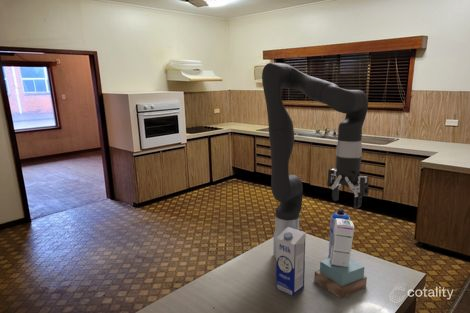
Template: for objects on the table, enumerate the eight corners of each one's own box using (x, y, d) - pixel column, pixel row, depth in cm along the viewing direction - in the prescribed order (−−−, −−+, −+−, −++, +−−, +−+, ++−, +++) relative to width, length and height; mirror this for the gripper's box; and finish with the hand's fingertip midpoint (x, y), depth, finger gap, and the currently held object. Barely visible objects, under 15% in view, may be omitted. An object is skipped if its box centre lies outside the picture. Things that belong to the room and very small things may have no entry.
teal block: (319, 271, 114) (320, 261, 113) (341, 264, 119) (341, 254, 118) (341, 286, 105) (342, 274, 105) (363, 277, 110) (364, 266, 109)
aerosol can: (339, 265, 125) (342, 215, 121) (323, 256, 132) (325, 209, 128) (353, 259, 129) (356, 210, 126) (337, 251, 136) (339, 205, 132)
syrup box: (348, 267, 109) (355, 226, 106) (330, 264, 110) (336, 223, 107) (346, 259, 114) (353, 220, 111) (329, 256, 115) (335, 217, 112)
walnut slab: (314, 281, 115) (314, 271, 114) (338, 272, 121) (338, 262, 120) (341, 299, 105) (342, 288, 104) (366, 288, 111) (366, 277, 110)
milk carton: (304, 287, 111) (306, 231, 107) (293, 296, 106) (294, 238, 102) (286, 280, 116) (287, 226, 112) (275, 288, 111) (276, 232, 107)
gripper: (323, 152, 108) (321, 200, 111) (360, 159, 96) (356, 212, 99) (339, 150, 112) (336, 196, 115) (376, 156, 100) (372, 207, 103)
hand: (346, 203), depth 107 cm, fingers open, 8 cm apart
